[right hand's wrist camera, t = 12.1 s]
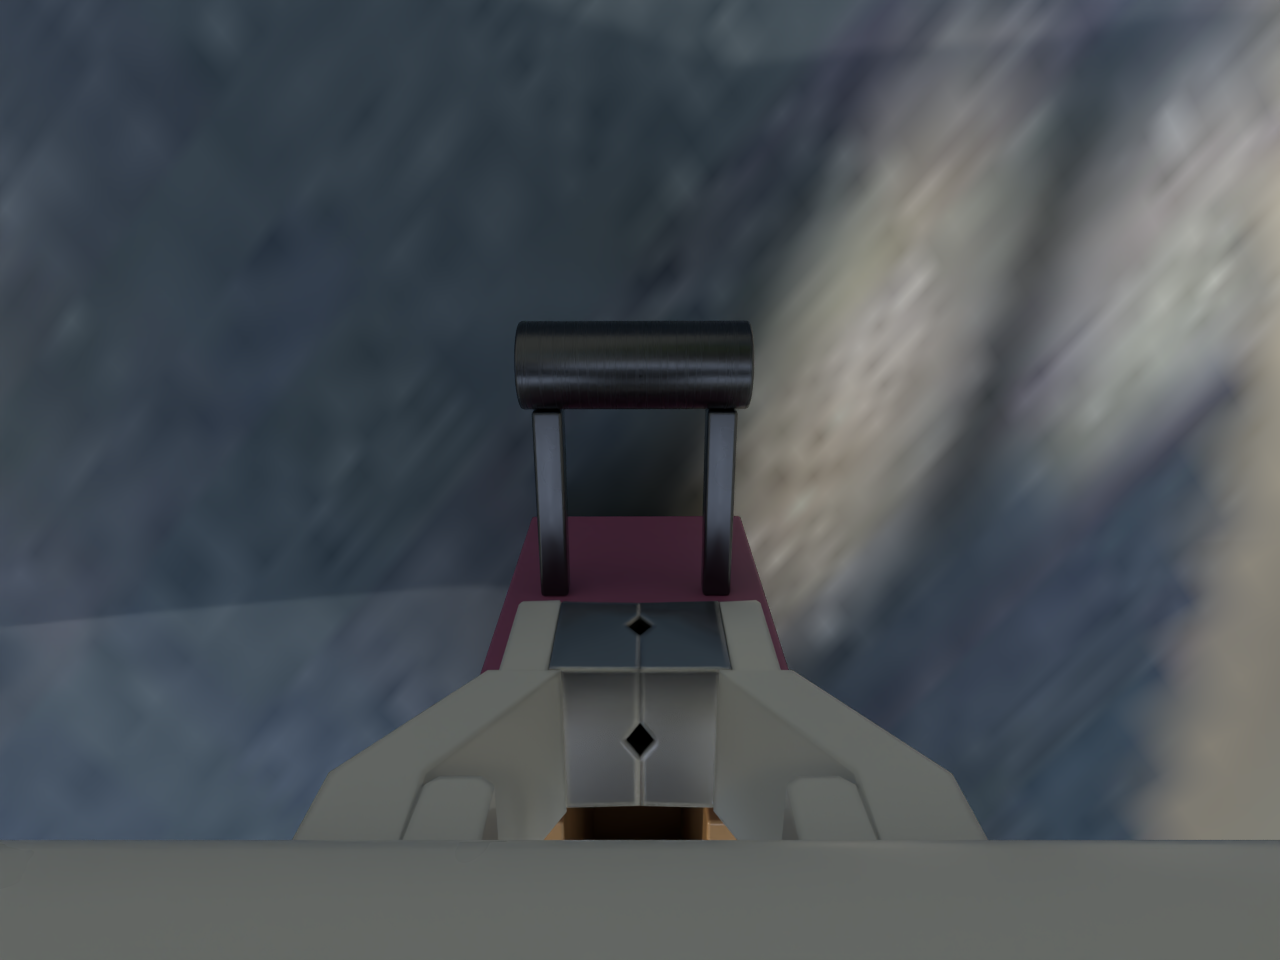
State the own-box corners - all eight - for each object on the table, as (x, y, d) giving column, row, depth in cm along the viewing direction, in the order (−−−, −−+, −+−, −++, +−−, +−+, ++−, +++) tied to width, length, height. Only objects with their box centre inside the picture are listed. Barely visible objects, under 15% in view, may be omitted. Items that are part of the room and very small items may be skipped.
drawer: (520, 295, 19) (432, 368, 11) (750, 294, 19) (832, 366, 11) (554, 935, 26) (517, 1262, 18) (721, 934, 26) (758, 1261, 18)
